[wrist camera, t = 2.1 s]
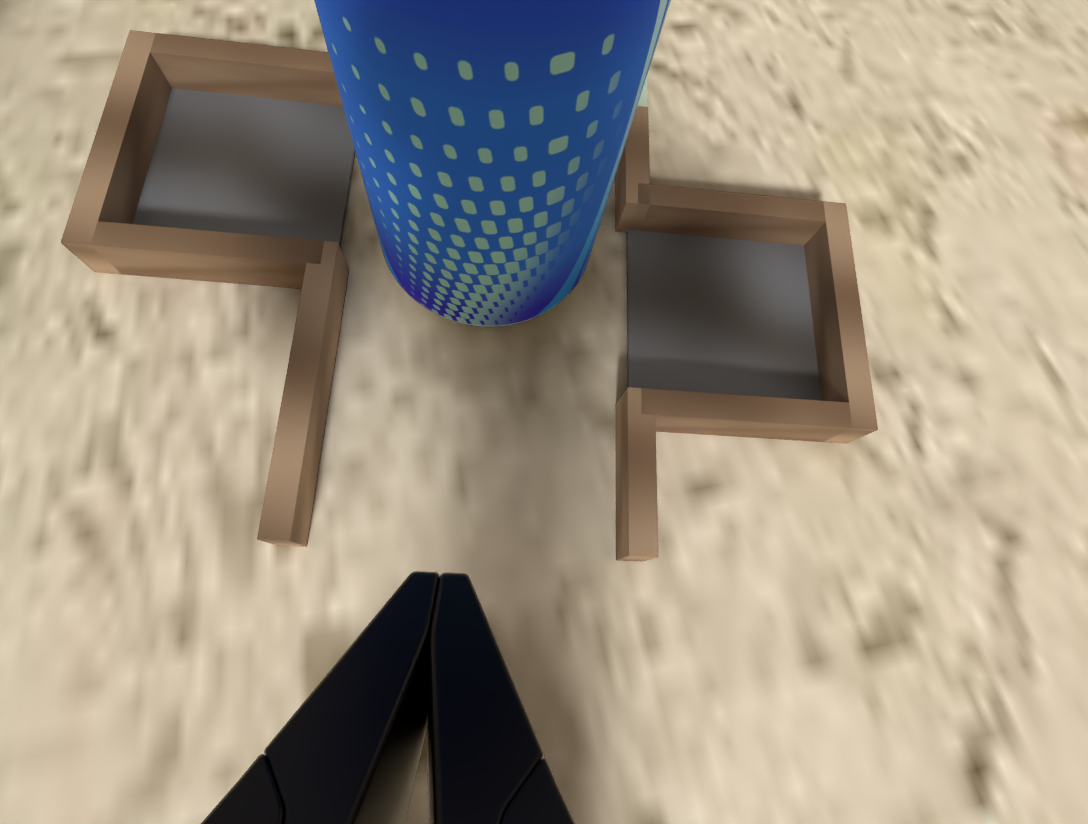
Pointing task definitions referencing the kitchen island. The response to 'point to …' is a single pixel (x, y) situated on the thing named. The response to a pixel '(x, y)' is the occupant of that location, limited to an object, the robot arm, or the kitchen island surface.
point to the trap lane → (321, 271)
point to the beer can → (489, 138)
